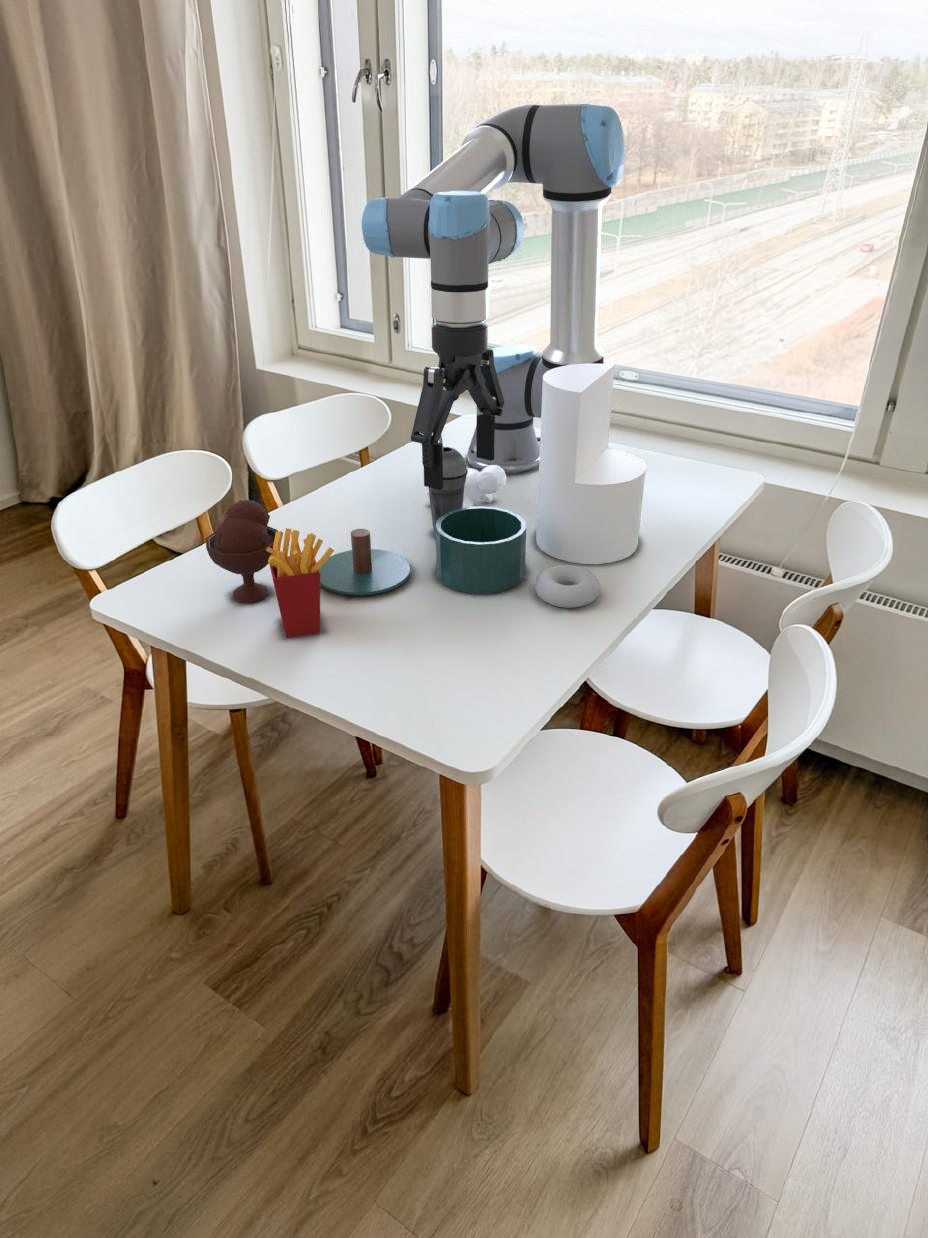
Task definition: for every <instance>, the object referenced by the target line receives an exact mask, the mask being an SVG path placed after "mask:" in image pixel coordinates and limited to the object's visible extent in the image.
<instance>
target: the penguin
mask: <svg viewBox="0 0 928 1238" xmlns="http://www.w3.org/2000/svg"><path fill="white" fill-rule="evenodd" d="M467 470H468V473H467V476H466V482H465V485H464V496H463V508H466V507H475V504H474V502H476V501H477V500H479V499H481V501H483V502H485V503H491V502H492V501H493V496H492V494H496V493H499V492H500V491H501V490H502V489H503V488H504V487H505V485H506V483H507V474H505V472H504V470H503V469H502V468H501V467H500V466H497V465H490V466H488V467H486V468H484V469H483V470H482V471H481V470H478V469H475V468H471V467H467ZM426 495H427V496H428V500H429V502H430V497H429V490H428V491H427V492H426Z"/></svg>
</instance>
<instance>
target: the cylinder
mask: <svg viewBox="0 0 928 1238" xmlns="http://www.w3.org/2000/svg"><path fill="white" fill-rule="evenodd" d="M615 366H616V365H615V364H613V363H609V364H573V365H567V366H561V367H557V368H553V369H551V370H549V371H547V372H546V373H545V374H544V375H543V386H542V411H541V418H540V442H539V448H540V459H539V466H538V485H537V487H538V489H537V507H536V509H537V511H536V535H535V536H536V539H535V541H536V545H537V546H538V547H539V549H540V550H541V551H542V552H544V553H545V554H547V555H548V556H550V557H552V558H555V559H557V560H561V561H564V562H568V563H574V564H581V565H600V564H601V565H602V564H603V565H604V564H610V563H615V562H618V561H623V560H624V559H626V558H628V557H631V556H632V554H634V553H635V552H636V551H637V548H638V544H639V537H640V535H639V534H640V528H641V527H640V525H641V517H642V507H643V499H644V498H643V497H644V491H645V489H644V488H645V480H646V470H647V466H646V464H645V462H644V461H643V460H642V459H641V458H639V457H638V456H636V455H633V454H632V453H629V452H627V451H623V450H621V449H614V448H609V441H610V427H611V416H612V405H613V402H612V401H613V390H614V377H615Z"/></svg>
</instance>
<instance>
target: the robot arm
mask: <svg viewBox="0 0 928 1238" xmlns="http://www.w3.org/2000/svg"><path fill="white" fill-rule="evenodd" d="M625 151H626V150H625V137H624V131H623V125H622V122H621V119H620V116H619V114H618V113H617V111H616V110H615V109H614V108H612V106H609V105H600V104H593V103H592V104H591V103H571V104H570V103H569V104H567V103H566V104H564V103H563V104H523V105H519V106H516V107H512V108H510V109H506V110H504V111H502V112H500V113H497V114H496V115H494V116H492V117H490V118H488V119H486V120H484V121H483V122H481V123H480V124H479V125H477V126H476V127H474V128H473V129H471V130H470V131H469V132H468V133H467V134H466V135H465V137H464V138H463V140H462V142H461V145H460V147H459V148H458V149H457V150H456V151H455V152H453V153H452V154H451V155H450V156H448V157H447V158H446V159H444V160H443V161H442V162H441V163H440V164H438V165H437V166H435V168H434V169H432V170H431V171H430V172H429V173H427V174H426V175H425V176H423V177H422V178H421V179H420V180H418V181H417V182H416V183H415V184H413V185H412V186H411V187H409V189H407V190H406V191H404V193H402V194H401V195H399V196H398V197H395V198H391V197H389V196H384V197H380V198H379V197H377V198H372V199H370V200H369V201H368V202H367V203H366V204H365V206H364V209H363V212H362V215H361V231H362V239H363V242H364V244H365V247H366V248H367V250H368V251H369V252H371V253H372V254H373V255H379V256H386V257H390V258H393V259H394V258H407V259H410V258H411V259H426V260H427V259H428V260H430V288H431V292H430V293H431V295H430V297H431V318H432V319H433V320H434V322H433V323H432V324H431V349H432V351H433V352H434V353H436V355H437V356H438V358H439V359H438V363H437V364H438V365H437V367H431V366H425V367H424V369H423V380H422V381H423V382H422V388H421V391H420V396H419V401H418V405H417V409H416V413H415V417H414V421H413V426H412V429H411V430H412V431H411V435H410V441H411V442H413V443H418V444H421V459H422V461H421V462H422V466H423V487H426V488H428V487H430V488H434V489H438V490H441V489H443V453H442V443H439V439H440V436H441V435H442V434H443V431H444V428H445V425H446V423H447V420H448V418H449V416H450V414H451V410H452V408H453V405H454V403H455V402H456V401H457V400H459V397H460V395H462V394H464V393H465V392H466V391H467V392H468V393H469V395H470V397H471V398H472V400H473V402H474V403H475V406H476V424H475V425H476V426H475V427H474V432H473V435H472V438H471V442H470V444H469V447H468V450H467V463H468V464H469V466H470V467H472V468H473V469H476V470H478V471H480V472H481V471H482V470H483V469H484V468H486V467H488V466H490V465H497V466H500V467H501V468H502V469H503V470H504V472H505V475H513V474H521V473H525V472H529V471H532V470H534V469H536V468H538V467H539V459H540V437H537V434H536V430H535V427H534V418H538V419H541V411H542V386H543V375H544V374H545V373H546V372H547V371H549V370H551V369H553V368H557V367H561V366H567V365H573V364H610V363H609V362H608V361H606V362H605V361H604V360H605V359H604V357H605V351H604V349H603V348H602V347H601V346H600V345H599V344H598V343H597V331H598V329H597V328H598V307H599V305H598V304H599V283H600V281H599V280H600V261H601V260H600V257H601V238H602V237H601V236H602V235H601V232H602V210H603V206H604V204H605V203H606V202H608V200H609V199H610V198H611V196H612V188H614V187H617V186H618V185H619V184H620V183H621V180H622V178H623V176H624V175H623V174H624V164H625V161H626V160H625V159H626V157H625V156H626V153H625ZM511 183H520V184H521V183H522V184H523V183H524V184H540V185H542V199H543V200H544V202H546V203H547V204H548V206H550V209H551V230H550V231H551V232H550V233H551V235H550V236H551V238H550V240H551V241H550V329H549V331H550V332H549V334H550V335H549V336H550V338H549V339H550V342H549V344H548V345H547V346H546V347H545V348H543V350H542V354H541V356H540V355H539V356H538V351H537V348H536V347H535V346H534V345H529V344H509V345H504V346H498V347H493V348H488V345H489V344H488V343H489V339H488V338H489V325H488V323H487V322H486V320H487V319H489V265H491V264H493V263H496V262H501V261H503V260H506V259H507V258H509V256H511V255H512V254H514V253H515V252H517V250H518V249H519V247H520V246H521V244H522V242H523V239H524V237H525V236H524V234H525V222H524V219H523V216H522V214H521V212H520V211H519V209H518V208H517V207H516V206H515V205H514V204H513V203H511V202H509V201H507V200H503V199H502V200H501V199H496V200H495V199H489V198H488V196H487V195H486V193H487V192H488V191H489V190H491V191H493V190H496V189H499V188H501V187H503V186H504V185H505V184H511Z"/></svg>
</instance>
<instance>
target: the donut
mask: <svg viewBox="0 0 928 1238" xmlns="http://www.w3.org/2000/svg"><path fill="white" fill-rule="evenodd" d="M533 587H534V591H535V593H536V595H537V596H538V597H539V598H540V599H541V600H542V601H543V602H545V603H546V604H549V605H551V606H555V607H558V608H567V609H570V608H571V609H572V608H580V607H584V606H586V605H590V604H591V603H592V602H594V601H595V600H596V599H597V597H599V595H600V593H601V592H600V590H601V582H600V581H599V579H598V577H597V576H596V575H595V574H594V573H593V572H592V571H590V570H588V569H587V568H584V567H581V566H577V565H569V564H562V565H561V564H560V565H553V566H550V567H547V568H545V569H543V570H541V572H539V573H538V574H537V576H536V577H535V580H534V586H533Z"/></svg>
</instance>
